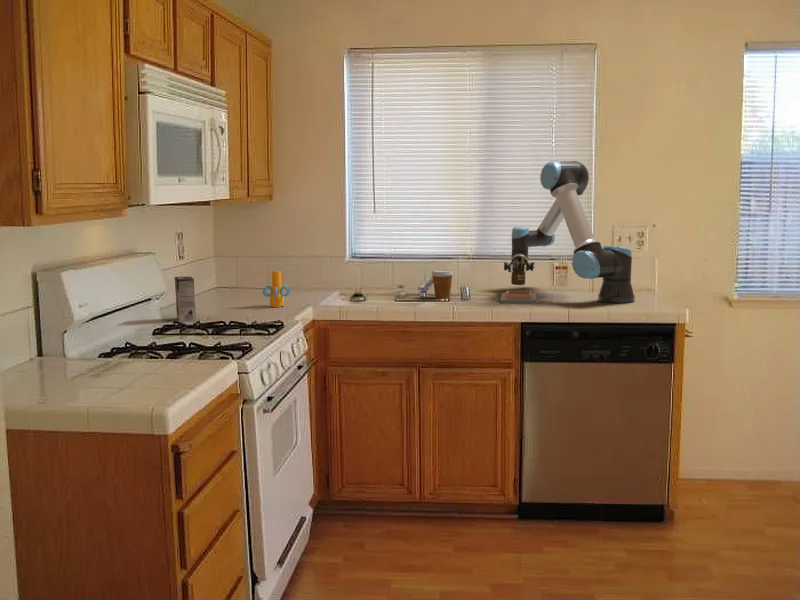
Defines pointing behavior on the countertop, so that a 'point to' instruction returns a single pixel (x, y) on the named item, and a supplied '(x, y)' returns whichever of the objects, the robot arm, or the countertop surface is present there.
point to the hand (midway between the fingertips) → (518, 269)
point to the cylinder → (276, 290)
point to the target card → (518, 297)
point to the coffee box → (185, 298)
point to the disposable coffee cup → (442, 283)
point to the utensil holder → (518, 274)
